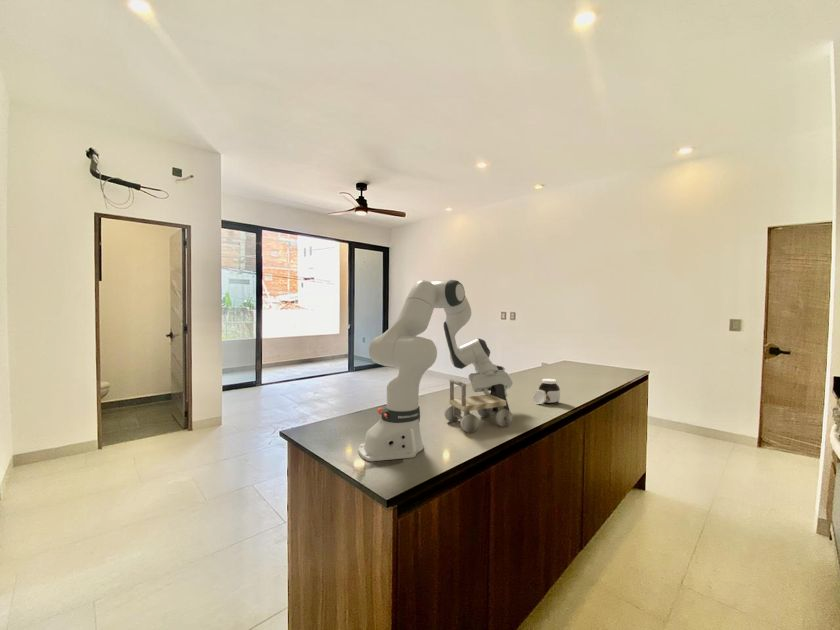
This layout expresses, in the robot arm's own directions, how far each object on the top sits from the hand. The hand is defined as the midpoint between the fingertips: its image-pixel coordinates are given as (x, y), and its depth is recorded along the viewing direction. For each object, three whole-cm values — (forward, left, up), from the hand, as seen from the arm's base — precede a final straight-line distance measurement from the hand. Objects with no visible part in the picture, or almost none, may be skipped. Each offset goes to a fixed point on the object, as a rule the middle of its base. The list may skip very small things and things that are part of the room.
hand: (498, 397), depth 161 cm
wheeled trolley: (-15, -7, -8) cm, 19 cm away
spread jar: (+33, +6, -8) cm, 34 cm away
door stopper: (0, +1, -7) cm, 7 cm away
